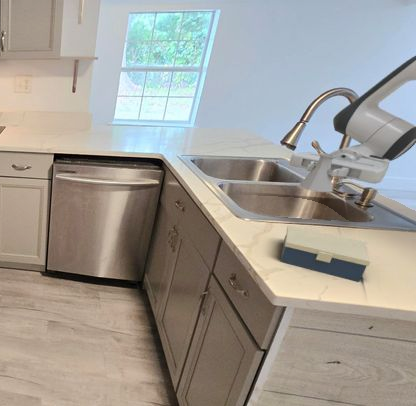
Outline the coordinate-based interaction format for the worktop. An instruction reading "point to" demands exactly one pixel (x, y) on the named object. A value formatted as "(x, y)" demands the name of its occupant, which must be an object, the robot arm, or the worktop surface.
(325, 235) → the lunchbox
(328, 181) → the flask
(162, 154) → the worktop surface
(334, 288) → the worktop surface
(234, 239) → the worktop surface
